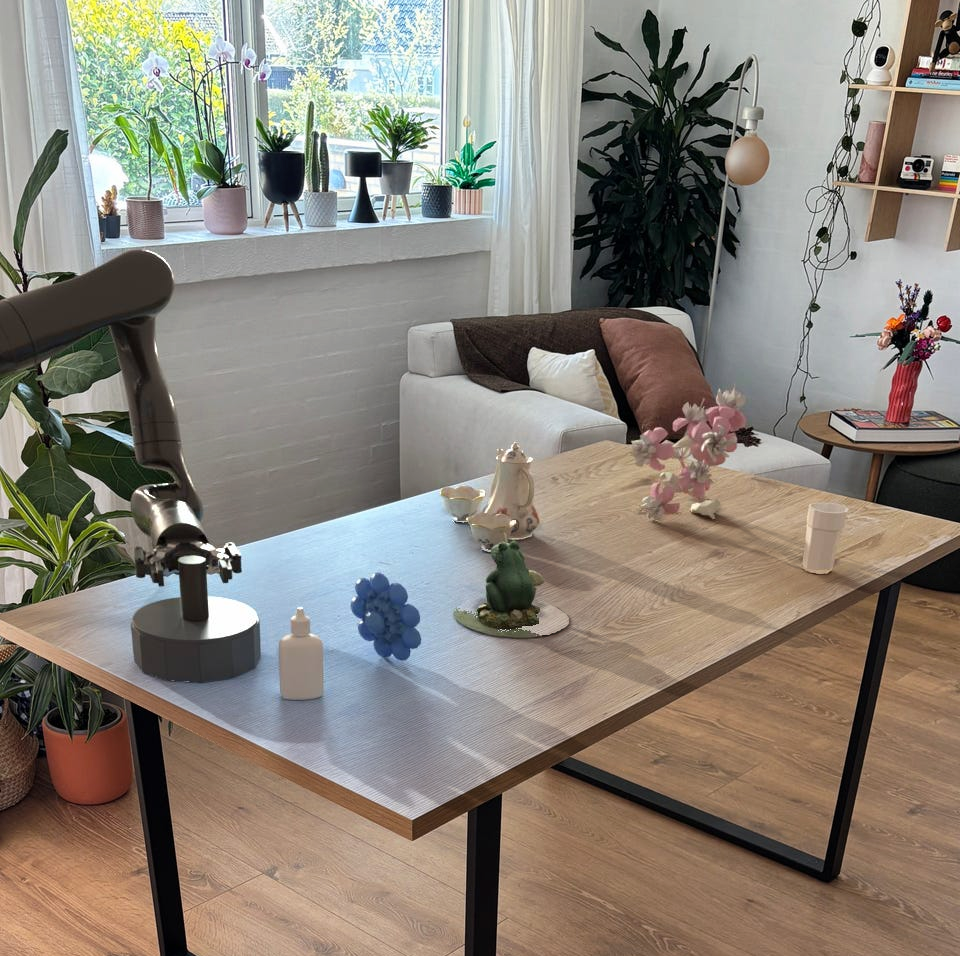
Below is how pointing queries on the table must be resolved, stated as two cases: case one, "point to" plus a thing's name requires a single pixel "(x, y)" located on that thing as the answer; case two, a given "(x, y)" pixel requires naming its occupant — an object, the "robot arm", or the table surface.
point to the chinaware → (498, 502)
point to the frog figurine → (506, 596)
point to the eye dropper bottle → (301, 661)
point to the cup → (823, 534)
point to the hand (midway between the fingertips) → (193, 577)
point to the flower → (696, 443)
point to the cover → (195, 632)
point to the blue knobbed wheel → (386, 616)
